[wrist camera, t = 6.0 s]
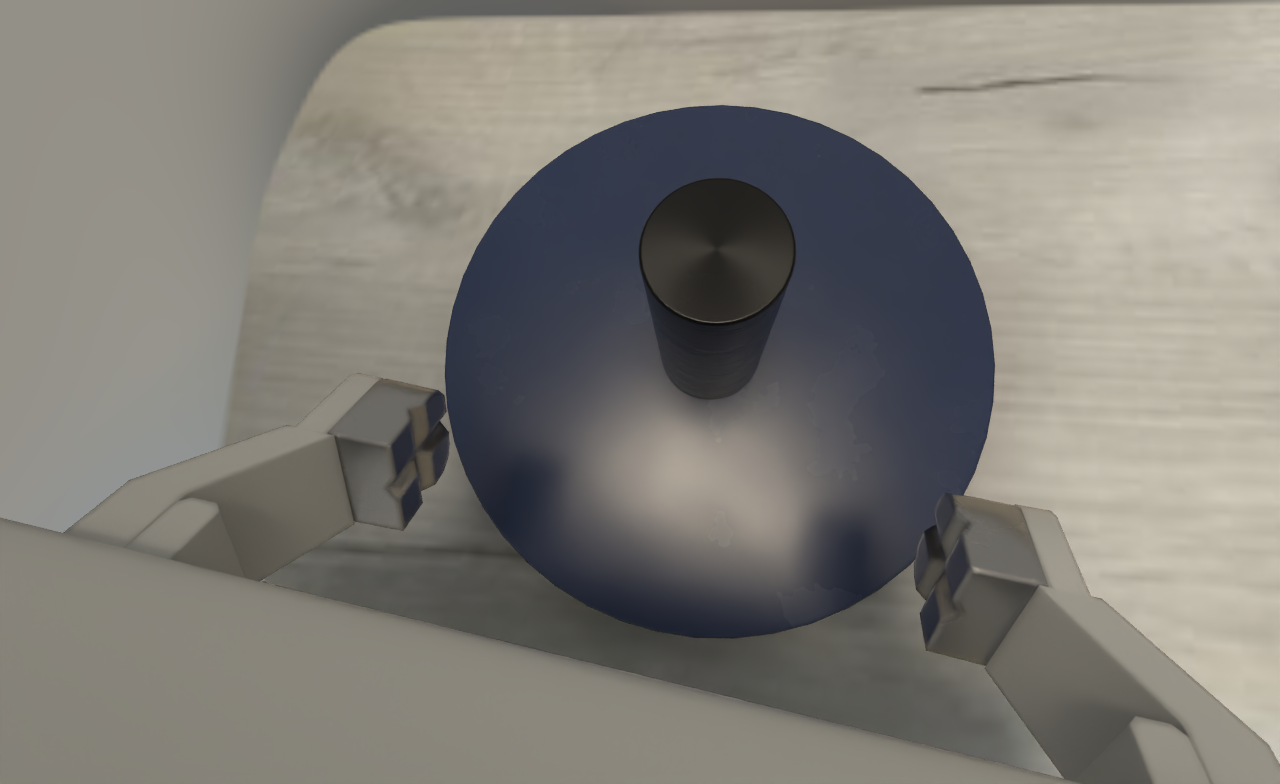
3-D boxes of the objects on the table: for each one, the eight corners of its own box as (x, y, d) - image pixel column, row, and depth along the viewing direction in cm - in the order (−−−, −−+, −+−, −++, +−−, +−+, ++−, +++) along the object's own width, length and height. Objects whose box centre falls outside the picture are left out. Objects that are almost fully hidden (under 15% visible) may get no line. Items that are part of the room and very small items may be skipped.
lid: (430, 607, 19) (224, 677, 10) (487, 125, 21) (357, -116, 13) (983, 654, 17) (1235, 775, 9) (971, 130, 20) (1159, -136, 12)
